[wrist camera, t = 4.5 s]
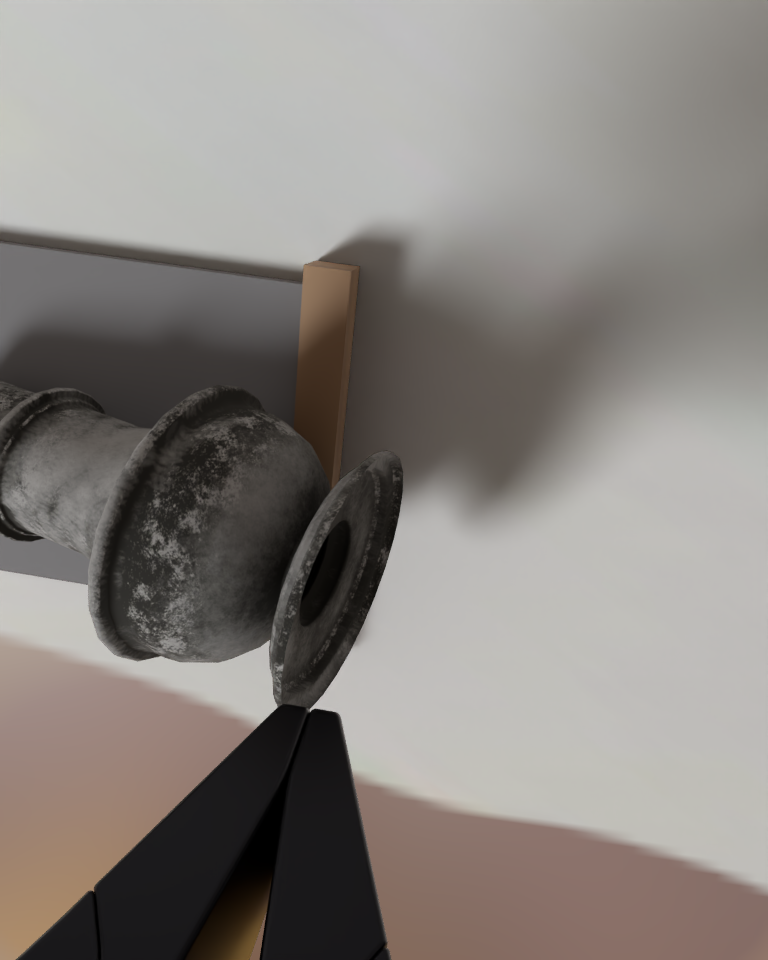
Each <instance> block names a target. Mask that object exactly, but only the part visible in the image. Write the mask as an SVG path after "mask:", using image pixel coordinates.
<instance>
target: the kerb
mask: <svg viewBox="0 0 768 960" xmlns="http://www.w3.org/2000/svg"><path fill="white" fill-rule="evenodd" d="M359 270H360V266H353V265H345V264H338V263H330V262H323V261H313V262H311V263H308V264H305V265H304V268H303V285H302V301H301V317H300V333H299V350H298V366H297V382H296V398H295V415H294V430H295V431H296V432H297V433H298V434H300V435H301V436H302V437H303V438H304V439H305V440H306V441H308V442H309V443H310V444H311V445H312V447H313V449H314V451H315V453H316V455H317V457H318V459H319V461H320V463H321V465H322V467H323V470H324V472H325V474H326V476H327V478H328V480H329V484H330V491H331V490H332V489H333V488H334V486H335V485H336V484H337V483H338V481H339V478H340V468H341V457H342V447H343V437H344V426H345V416H346V405H347V395H348V385H349V374H350V364H351V353H352V343H353V332H354V322H355V312H356V301H357V291H358V280H359Z"/></svg>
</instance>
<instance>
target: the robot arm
mask: <svg viewBox="0 0 768 960" xmlns="http://www.w3.org/2000/svg"><path fill="white" fill-rule="evenodd" d="M266 912H267V913H266ZM265 915H266V920H265V928H264V934H263V940H262V947H261V953H260V960H391V955H390V951H389V949H388V948H387V938H386V933H385V928H384V923H383V919H382V914H381V909H380V905H379V899H378V895H377V890H376V885H375V880H374V875H373V871H372V866H371V861H370V856H369V851H368V847H367V842H366V837H365V832H364V827H363V822H362V817H361V813H360V808H359V803H358V798H357V793H356V789H355V784H354V779H353V774H352V769H351V764H350V760H349V755H348V750H347V745H346V740H345V736H344V731H343V726H342V721H341V717H340V715H339V714H338V713H336V712H332V711H326V710H320V709H313V710H312V711H311V712H310V710H309V709H308V708H307V707H303V706H297V705H291V704H282V705H280V706H279V707H278V708H277V709H276V710H275V711H274V712H272V713H271V714H270V715H269V716H268V717H267V718H266V719H265V720H264V721H263V722H262V723H261V724H260V725H259V726H258V727H257V728H256V729H255V730H254V731H253V732H252V733H251V734H250V735H249V736H248V737H247V738H246V739H245V740H244V741H243V742H242V743H241V744H240V745H239V746H238V747H237V748H235V750H233V751H232V752H231V753H230V754H229V755H228V756H227V757H226V758H225V759H224V760H223V761H222V762H221V763H220V764H219V765H218V766H217V767H216V768H215V769H214V770H213V771H212V772H211V773H210V774H209V775H208V776H207V777H206V778H205V779H204V780H203V781H202V782H201V783H199V784H198V785H197V786H196V787H195V788H194V789H193V790H192V791H191V792H190V793H189V794H188V795H187V796H186V797H185V798H184V799H183V800H182V801H181V802H180V803H179V804H178V805H177V806H176V807H175V808H174V809H173V810H172V811H171V812H170V813H169V814H168V815H167V816H166V817H165V818H164V819H162V820H161V821H160V822H159V823H158V824H157V825H156V826H155V827H154V828H153V829H152V830H151V831H150V832H149V833H148V834H147V835H146V836H145V837H144V838H143V839H142V840H141V841H140V842H139V843H138V844H137V845H136V846H135V847H134V848H133V849H132V850H131V851H130V852H129V853H128V854H127V855H125V856H124V858H122V859H121V860H120V861H119V862H118V863H117V864H116V865H115V866H114V867H113V868H112V869H111V870H110V871H109V872H108V873H107V874H106V875H105V876H104V877H103V878H102V879H101V880H100V881H99V882H98V883H97V884H96V885H95V887H94V892H93V891H88V892H87V893H86V894H85V895H84V896H83V897H82V898H81V899H80V900H79V901H78V902H77V903H76V904H75V905H74V906H73V907H72V908H71V909H70V910H69V911H67V913H65V915H63V916H62V917H61V918H60V919H59V920H58V921H57V922H56V923H55V924H54V925H53V926H52V927H51V928H50V929H49V930H47V931H46V932H45V933H44V934H43V935H42V936H41V937H40V938H39V939H38V940H37V941H35V942H34V943H33V944H32V945H31V946H30V947H29V948H28V949H27V950H26V951H25V952H24V953H23V954H21V955H20V956H19V957H18V958H17V959H16V960H250V957H251V954H252V952H253V948H254V946H255V943H256V940H257V937H258V934H259V932H260V929H261V926H262V923H263V920H264V917H265Z"/></svg>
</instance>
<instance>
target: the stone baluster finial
mask: <svg viewBox="0 0 768 960" xmlns="http://www.w3.org/2000/svg"><path fill="white" fill-rule="evenodd" d="M402 492H403V471H402V467H401V462H400V459H399V458H398V457H397V456H396V455H395V454H394V453H392V452H389V451H383V452H378V453H375V454H373V455H371V456H370V457H369V458H368V459H366V460H365V461H364V462H363V463H362V464H360V465H359V466H358V467H357V468H355V469H353V470H352V471H350V472H349V473H348V474H347V475H346V476H344V477H343V478H342V479H341V480H339V481H338V483H337V484H336V485H335V486H334V488H333V489H332V490H331V491H330V484H329V480H328V478H327V476H326V474H325V472H324V470H323V467H322V465H321V463H320V461H319V459H318V457H317V455H316V453H315V451H314V449H313V447H312V445H311V444H310V443H309V442H308V441H306V440H305V439H304V438H303V437H302V436H301V435H300V434H298V433H297V432H296V431H295V430H294V429H293V428H292V427H291V426H289V425H288V424H287V423H286V422H284V421H283V420H281V419H280V418H278V417H277V416H275V415H273V414H270V413H267V412H266V411H265V409H264V408H263V406H262V404H261V403H260V401H259V399H258V398H257V397H256V396H254V395H253V394H251V393H250V392H248V391H247V390H245V389H244V388H242V387H239V386H228V385H215V386H213V387H210V388H207V389H204V390H202V391H199V392H196V393H193V394H192V395H190V396H188V397H187V398H186V399H184V400H183V401H182V402H180V403H179V404H178V405H176V406H175V407H174V408H172V409H171V410H170V411H168V412H167V413H166V414H165V415H163V416H162V417H161V419H160V420H159V421H158V422H157V423H156V424H155V426H154V427H153V428H152V429H150V428H142V427H139V426H136V425H133V424H130V423H128V422H125V421H122V420H119V419H116V418H114V417H111V416H108V415H107V414H106V412H105V411H104V409H103V407H102V405H101V404H100V403H99V402H97V401H96V400H95V399H94V398H93V397H92V396H91V395H89V394H86V393H84V392H81V391H79V390H76V389H73V388H53V389H49V390H45V391H42V392H38V393H34V392H31V391H28V390H25V389H23V388H20V387H17V386H14V385H11V384H9V383H6V382H3V381H0V535H2V536H4V537H7V538H9V539H11V540H13V541H24V542H33V541H37V540H41V539H45V538H46V539H48V540H51V541H53V542H55V543H58V544H60V545H62V546H65V547H67V548H69V549H71V550H74V551H76V552H78V553H81V554H82V555H84V556H85V557H86V558H88V559H89V560H90V564H89V569H88V600H89V611H90V614H91V617H92V620H93V623H94V626H95V629H96V633H97V636H98V638H99V639H100V640H101V641H102V642H103V644H104V645H105V646H106V647H107V648H108V649H109V650H110V651H111V652H112V653H113V654H114V655H116V656H119V657H123V658H127V659H131V660H135V661H141V660H146V659H150V658H155V657H159V656H163V657H165V658H168V659H171V660H175V661H178V662H217V663H218V662H222V661H225V660H229V659H232V658H234V657H237V656H239V655H242V654H244V653H246V652H249V651H251V650H254V649H256V648H258V647H261V646H262V645H263V644H265V643H266V642H267V641H269V640H270V646H269V657H270V670H271V674H272V677H273V695H274V699H275V702H276V704H277V706H278V707H279V706H280V705H282V704H291V705H297V706H303V707H307V708H308V709H310V708H311V707H312V706H313V705H314V704H315V703H316V702H317V701H318V700H319V698H320V697H321V696H322V695H323V694H324V692H325V691H326V689H327V688H328V687H329V685H330V684H331V682H332V681H333V679H334V678H335V676H336V675H337V673H338V671H339V670H340V668H341V666H342V664H343V663H344V661H345V659H346V657H347V656H348V654H349V652H350V650H351V648H352V646H353V644H354V642H355V640H356V638H357V636H358V634H359V632H360V630H361V628H362V626H363V624H364V621H365V619H366V616H367V614H368V612H369V609H370V607H371V604H372V602H373V600H374V597H375V595H376V592H377V589H378V586H379V584H380V581H381V578H382V575H383V572H384V570H385V567H386V563H387V560H388V557H389V553H390V550H391V547H392V543H393V540H394V535H395V531H396V527H397V522H398V518H399V513H400V506H401V499H402Z"/></svg>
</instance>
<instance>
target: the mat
mask: <svg viewBox="0 0 768 960" xmlns="http://www.w3.org/2000/svg"><path fill="white" fill-rule="evenodd" d="M302 285H303V282H299V281H291V280H284V279H277V278H269V277H262V276H255V275H247V274H240V273H233V272H225V271H218V270H211V269H203V268H196V267H189V266H181V265H174V264H166V263H159V262H152V261H144V260H137V259H130V258H122V257H115V256H108V255H100V254H93V253H86V252H78V251H71V250H64V249H56V248H49V247H42V246H34V245H27V244H20V243H12V242H5V241H0V381H3V382H6V383H9V384H11V385H14V386H17V387H20V388H23V389H25V390H28V391H31V392H34V393H38V392H42V391H45V390H49V389H53V388H73V389H76V390H79V391H81V392H84V393H86V394H89V395H91V396H92V397H93V398H94V399H95V400H96V401H97V402H99V403H100V404H101V405H102V407H103V409H104V411H105V412H106V414H107V415H108V416H111V417H114V418H116V419H119V420H122V421H125V422H128V423H130V424H133V425H136V426H139V427H142V428H150V429H152V428H153V427H154V426H155V424H156V423H157V422H158V421H159V420H160V419H161V417H162V416H163V415H165V414H166V413H167V412H168V411H170V410H171V409H172V408H174V407H175V406H176V405H178V404H179V403H180V402H182V401H183V400H184V399H186V398H187V397H188V396H190V395H192V394H193V393H196V392H199V391H202V390H204V389H207V388H210V387H213V386H215V385H228V386H239V387H242V388H244V389H245V390H247V391H248V392H250V393H251V394H253V395H254V396H256V397H257V398H258V399H259V401H260V403H261V404H262V406H263V408H264V409H265V411H266V412H267V413H270V414H273V415H275V416H277V417H278V418H280V419H281V420H283V421H284V422H286V423H287V424H288V425H289V426H291V427H292V428H293V429H294V415H295V398H296V382H297V366H298V350H299V333H300V317H301V301H302ZM89 564H90V560H89V559H88V558H86V557H85V556H84V555H82V554H81V553H78V552H76V551H74V550H71V549H69V548H67V547H65V546H62V545H60V544H58V543H55V542H53V541H51V540H48V539H46V538H45V539H41V540H37V541H33V542H24V541H13V540H11V539H9V538H7V537H4V536H2V535H0V570H2V571H8V572H14V573H20V574H26V575H32V576H38V577H44V578H50V579H56V580H62V581H68V582H74V583H80V584H86V585H88V569H89Z"/></svg>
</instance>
